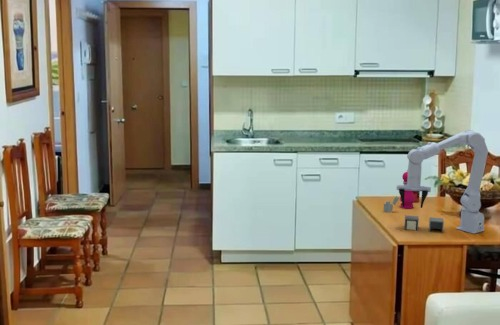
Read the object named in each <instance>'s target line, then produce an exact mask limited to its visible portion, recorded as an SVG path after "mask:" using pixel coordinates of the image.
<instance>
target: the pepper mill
mask: <svg viewBox="0 0 500 325" xmlns="http://www.w3.org/2000/svg"><path fill="white" fill-rule="evenodd" d="M407 178H408V169H407V170H406V171H405V172H403V174H402V180H403V181H402V182H403V184H402V185H407ZM399 201H400V208H401V209H405V210H410V209H413V208H414V203H413V202H414V201H415V198H414V195H413V192H412V191H409V190H405V196H404V203H405V204H404V207H403V203H402V199H401V196H400V195H399Z"/></svg>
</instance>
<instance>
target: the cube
mask: <svg viewBox="0 0 500 325" xmlns="http://www.w3.org/2000/svg"><path fill="white" fill-rule="evenodd" d="M406 230H414V231H417V227H416V220H407V226H406Z"/></svg>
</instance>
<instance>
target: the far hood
mask: <svg viewBox="0 0 500 325" xmlns="http://www.w3.org/2000/svg"><path fill="white" fill-rule="evenodd" d="M419 219H420V218H419V216H418V215H407V214H406V215H404V227H403V228H404V230H406V227H407V220H416V231H419Z"/></svg>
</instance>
